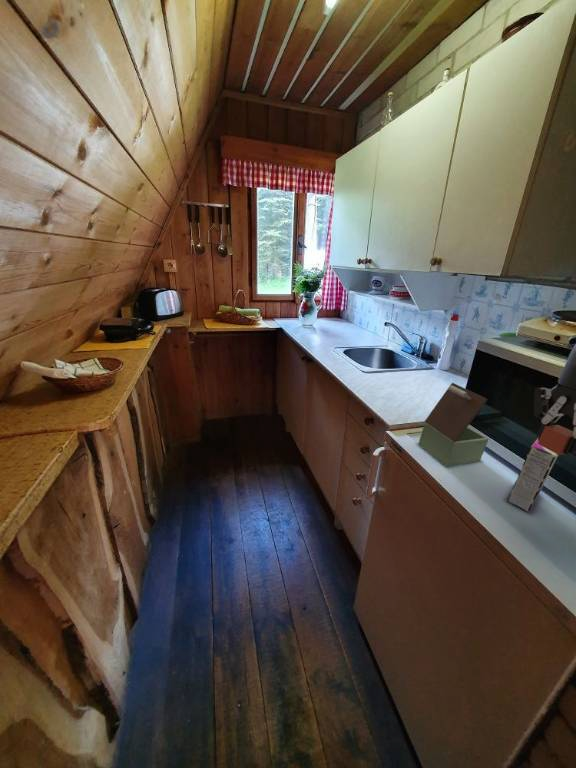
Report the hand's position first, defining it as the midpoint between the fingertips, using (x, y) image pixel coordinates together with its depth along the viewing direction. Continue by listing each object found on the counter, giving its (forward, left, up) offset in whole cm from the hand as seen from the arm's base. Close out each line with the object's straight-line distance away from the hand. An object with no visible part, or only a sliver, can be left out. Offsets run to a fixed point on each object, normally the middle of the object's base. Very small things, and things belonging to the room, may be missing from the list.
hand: (554, 446), depth 60 cm
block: (0, 0, 0) cm, 0 cm away
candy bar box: (-13, -7, -22) cm, 26 cm away
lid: (-6, -28, -7) cm, 29 cm away
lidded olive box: (-9, -28, -22) cm, 36 cm away
